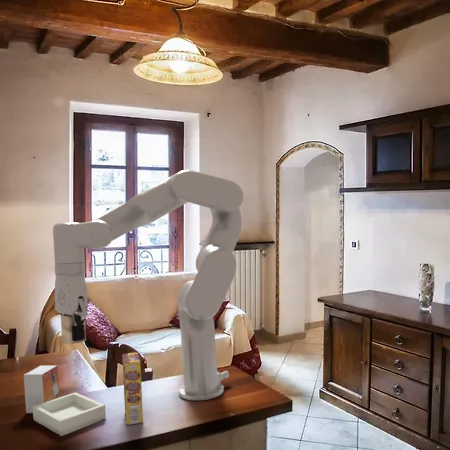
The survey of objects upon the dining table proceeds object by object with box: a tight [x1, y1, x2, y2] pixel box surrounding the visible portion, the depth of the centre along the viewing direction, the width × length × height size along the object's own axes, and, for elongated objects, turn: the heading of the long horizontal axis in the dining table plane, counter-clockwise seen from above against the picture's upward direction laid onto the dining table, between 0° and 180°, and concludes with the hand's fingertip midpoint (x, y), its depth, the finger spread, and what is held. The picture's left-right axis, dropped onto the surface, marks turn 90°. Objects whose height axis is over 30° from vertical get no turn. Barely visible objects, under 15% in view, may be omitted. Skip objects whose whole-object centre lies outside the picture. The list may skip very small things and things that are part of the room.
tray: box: [32, 392, 107, 437], centre depth 124 cm, size 12×15×4 cm
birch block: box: [60, 314, 87, 345], centre depth 128 cm, size 4×4×7 cm
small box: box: [23, 365, 60, 414], centre depth 133 cm, size 8×6×10 cm
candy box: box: [121, 352, 144, 426], centre depth 123 cm, size 9×4×15 cm, turn 14°
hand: (74, 337), depth 128 cm, fingers closed on birch block, 4 cm apart
